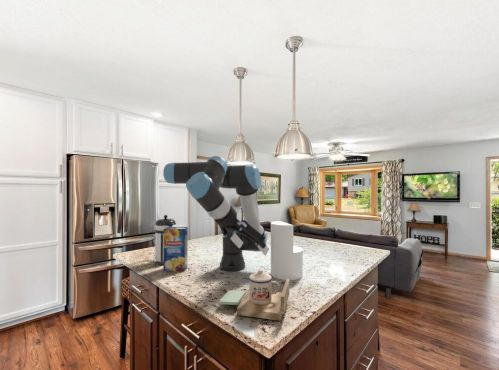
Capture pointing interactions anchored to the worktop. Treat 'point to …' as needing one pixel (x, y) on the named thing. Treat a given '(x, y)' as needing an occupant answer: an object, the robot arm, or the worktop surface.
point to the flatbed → (266, 306)
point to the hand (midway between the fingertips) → (253, 248)
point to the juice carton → (175, 248)
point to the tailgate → (232, 297)
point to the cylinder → (285, 253)
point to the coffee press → (161, 237)
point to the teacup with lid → (261, 288)
